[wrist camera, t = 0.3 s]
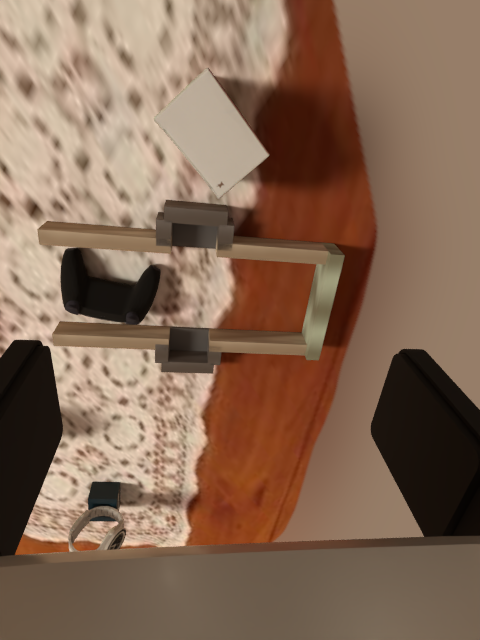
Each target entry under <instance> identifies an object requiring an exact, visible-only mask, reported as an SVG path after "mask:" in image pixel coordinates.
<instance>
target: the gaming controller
mask: <svg viewBox="0 0 480 640" xmlns="http://www.w3.org/2000/svg"><path fill="white" fill-rule="evenodd" d="M160 274H161V270H160V269H158V268H156V267H154V266H152V265H150V266H149V267H148V268H147V269H146V270H145V271H144V273H143V274H142V276H141V277H140V279H139V281H138V282H137V284H136V285H135V286H130V285H126V284H122V283H117V282H112V281H108V280H103V279H98V278H93V277H89V276H88V275H87V274H86V270H85V266H84V261H83V258H82V254H81V252H80V250H79V249H78V248H68V249H66V250H65V252H64V255H63V259H62V265H61V292H62V299H63V304H64V307H65V310H67V311H68V312H70V313H72V314H76V315H78V314H80V315H81V314H82V315H85V316H88V317H92V318H97V319H101V320H107V321H113V322H124V323H126V324H128V325H137V324H139V323H140V322H141V321H142V320H143V319H144V317H145V316H146V314H147V313H148V311H149V309H150V307H151V305H152V303H153V301H154V298H155V295H156V292H157V289H158V285H159V280H160Z"/></svg>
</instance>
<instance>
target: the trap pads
mask: <svg viewBox="0 0 480 640" xmlns="http://www.w3.org/2000/svg"><path fill="white" fill-rule="evenodd" d="M217 228H218V227H217V226H205V225H192V224H180V223H173V236H172V246H186V247H200V248H213V249H216V240H217ZM208 336H209V328H188V327H170V346H169V350H183V351H207V348H208Z"/></svg>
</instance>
